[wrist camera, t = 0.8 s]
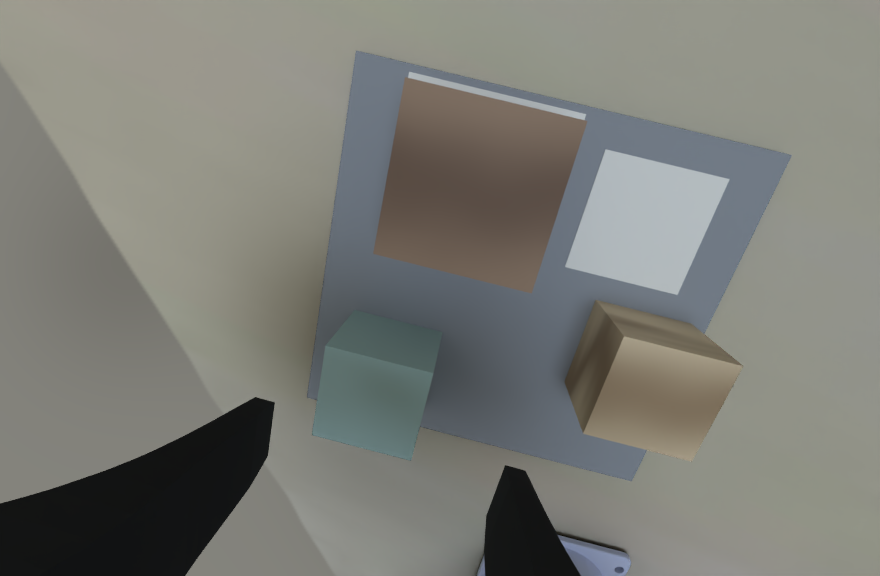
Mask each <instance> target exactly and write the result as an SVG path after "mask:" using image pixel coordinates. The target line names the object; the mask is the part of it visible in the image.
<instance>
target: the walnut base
mask: <svg viewBox="0 0 880 576" xmlns="http://www.w3.org/2000/svg"><path fill="white" fill-rule="evenodd" d="M586 124H587V121H586V120H581V119H577V118H573V117H569V116H565V115H561V114H557V113H552V112H548V111H544V110H540V109H536V108H532V107H527V106H523V105H519V104H515V103H511V102H507V101H502V100H498V99H494V98H490V97H486V96H482V95H478V94H473V93H469V92H465V91H461V90H457V89H453V88H448V87H444V86H440V85H436V84H432V83H428V82H424V81H419V80H415V79H411V78H407V77H405V80H404V85H403V91H402V96H401V102H400V107H399V113H398V118H397V124H396V129H395V135H394V140H393V146H392V152H391V157H390V163H389V168H388V174H387V179H386V185H385V190H384V196H383V201H382V207H381V213H380V218H379V224H378V229H377V235H376V240H375V246H374V251H373V254H376V255H380V256H384V257H388V258H392V259H396V260H400V261H404V262H408V263H412V264H416V265H420V266H424V267H428V268H432V269H436V270H440V271H444V272H448V273H452V274H456V275H460V276H464V277H468V278H472V279H476V280H480V281H484V282H488V283H492V284H496V285H500V286H504V287H508V288H512V289H516V290H520V291H524V292H528V293H532V291H533V288H534V285H535V282H536V279H537V275H538V272H539V269H540V266H541V263H542V260H543V257H544V254H545V251H546V248H547V245H548V242H549V238H550V235H551V232H552V229H553V226H554V223H555V220H556V217H557V214H558V211H559V208H560V205H561V201H562V198H563V195H564V192H565V189H566V186H567V183H568V180H569V177H570V174H571V171H572V168H573V165H574V161H575V158H576V155H577V152H578V149H579V146H580V143H581V140H582V137H583V134H584V131H585V128H586Z"/></svg>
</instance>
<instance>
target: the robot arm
mask: <svg viewBox="0 0 880 576" xmlns="http://www.w3.org/2000/svg"><path fill="white" fill-rule="evenodd" d="M274 404H275V402H271V401H267V400H264V399H260V398H256V397H255V398H253V399H251V400H249V401H248V402H246V403H244V404H242V405H240V406H238V407H237V408H235V409H233V410H231V411H229V412H228V413H226V414H224V415H222V416H220V417H219V418H217V419H215V420H213V421H211V422H210V423H208V424H206V425H204V426H202V427H200V428H198V429H196V430H194V431H193V432H191V433H189V434H187V435H185V436H183V437H181V438H179V439H177V440H175V441H173V442H171V443H168V444H166V445H165V446H162V447H160V448H158V449H156V450H154V451H152V452H150V453H147V454H145V455H143V456H141V457H138V458H136V459H133V460H131V461H129V462H126V463H123V464H121V465H119V466H116V467H113V468H111V469H108V470H106V471H103V472H100V473H98V474H94V475H92V476H89V477H86V478H83V479H80V480H77V481H74V482H71V483H68V484H65V485H63V486H59V487H56V488H53V489H50V490H47V491H43V492H40V493H37V494H33V495H30V496H26V497H23V498H19V499H15V500H12V501H8V502H4V503H1V504H0V576H185V575H186V574H187V572H188V571H189V569H190V568H191V566H192V565H193V564H194V562H195V561H196V559H197V558H198V556H199V555H200V554H201V552H202V551H203V550H204V548H205V547H206V546H207V544H208V543H209V542H210V540H211V539H212V538H213V536H214V535H215V533H216V532H217V531H218V529H219V528H220V527H221V525H222V524H223V523H224V521H225V520H226V519H227V517H228V516H229V514H230V513H231V512H232V511H233V509H234V508H235V507H236V505H237V504H238V503H239V501H240V500H241V498H242V497H243V496H244V494H245V493H246V492H247V490H248V489H249V487H250V485H251V484H252V482H253V481H254V479H255V477H256V476H257V474H258V472H259V470H260V469H261V467H262V465H263V463H264V461H265V460H266V458H267V456H268V450H269V442H270V434H271V427H272V419H273V411H274ZM630 566H631V561H630V558H629V555H628V554H627V553H624V552H621V551H617V550H613V549H610V548H606V547H602V546H598V545H594V544H590V543H587V542H583V541H579V540H575V539H571V538H567V537H564V536H560V535H557V533H556V531H555V529H554V528H553V526H552V524H551V522H550V520H549V518H548V516H547V514H546V512H545V510H544V508H543V506H542V504H541V502H540V500H539V498H538V496H537V494H536V492H535V490H534V488H533V485H532V483H531V481H530V479H529V477H528V475H527V473H526V471H524V470H521V469H517V468H513V467H510V466H506V465H505V467H504V470H503V473H502V476H501V478H500V481H499V484H498V486H497V489H496V492H495V494H494V497H493V500H492V502H491V505H490V508H489V510H488V513H487V516H486V529H485V546H484V556H483V559H482V562H481V564H480V567H479V570H478V573H477V575H476V576H625V575H626V573H627V571H628V569H629V568H630Z"/></svg>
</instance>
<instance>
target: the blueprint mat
mask: <svg viewBox="0 0 880 576" xmlns="http://www.w3.org/2000/svg"><path fill="white" fill-rule="evenodd" d="M405 77H407V78H411V79H415V80H419V81H424V82H428V83H432V84H436V85H440V86H444V87H448V88H453V89H457V90H461V91H465V92H469V93H473V94H478V95H482V96H486V97H490V98H494V99H498V100H502V101H507V102H511V103H515V104H519V105H523V106H527V107H532V108H536V109H540V110H544V111H548V112H552V113H557V114H561V115H565V116H569V117H573V118H577V119H581V120H586V121H587V124H586V128H585V131H584V134H583V137H582V140H581V143H580V146H579V149H578V152H577V155H576V158H575V161H574V165H573V168H572V171H571V174H570V177H569V180H568V183H567V186H566V189H565V192H564V195H563V198H562V201H561V205H560V208H559V211H558V214H557V217H556V220H555V223H554V226H553V229H552V232H551V235H550V238H549V242H548V245H547V248H546V251H545V254H544V257H543V260H542V263H541V266H540V269H539V272H538V275H537V279H536V282H535V285H534V288H533V291H532V293H528V292H524V291H520V290H516V289H512V288H508V287H504V286H500V285H496V284H492V283H488V282H484V281H480V280H476V279H472V278H468V277H464V276H460V275H456V274H452V273H448V272H444V271H440V270H436V269H432V268H428V267H424V266H420V265H416V264H412V263H408V262H404V261H400V260H396V259H392V258H388V257H384V256H380V255H376V254H373V251H374V246H375V240H376V235H377V229H378V224H379V218H380V213H381V207H382V201H383V196H384V190H385V185H386V179H387V174H388V168H389V163H390V157H391V152H392V146H393V140H394V135H395V129H396V124H397V118H398V113H399V107H400V102H401V96H402V91H403V85H404V80H405ZM791 156H792V155H789V154H785V153H781V152H776V151H772V150H768V149H764V148H760V147H756V146H751V145H747V144H743V143H739V142H735V141H731V140H726V139H722V138H718V137H714V136H710V135H706V134H701V133H697V132H693V131H689V130H685V129H681V128H676V127H672V126H668V125H664V124H660V123H656V122H651V121H647V120H643V119H639V118H635V117H631V116H626V115H622V114H618V113H614V112H610V111H606V110H601V109H597V108H593V107H589V106H585V105H581V104H576V103H572V102H568V101H564V100H560V99H556V98H551V97H547V96H543V95H539V94H535V93H531V92H526V91H522V90H518V89H514V88H510V87H506V86H501V85H497V84H493V83H489V82H485V81H481V80H476V79H472V78H468V77H464V76H460V75H456V74H451V73H447V72H443V71H439V70H435V69H431V68H426V67H422V66H418V65H414V64H410V63H406V62H401V61H397V60H393V59H389V58H385V57H381V56H376V55H372V54H368V53H364V52H360V51H356V55H355V63H354V70H353V77H352V84H351V91H350V98H349V105H348V112H347V119H346V126H345V133H344V140H343V147H342V154H341V161H340V168H339V175H338V182H337V189H336V196H335V203H334V210H333V218H332V225H331V232H330V239H329V246H328V253H327V260H326V267H325V274H324V281H323V288H322V295H321V302H320V309H319V316H318V323H317V330H316V337H315V344H314V351H313V358H312V365H311V373H310V380H309V387H308V394H307V398H311V399H315V400H317V398H318V391H319V385H320V378H321V372H322V365H323V358H324V352H325V346H326V344H327V343H328V342H329V341H330V339H331V338H332V337H333V336H334V335H335V333H336V332H337V331H338V330H339V328H340V327H341V326H342V325H343V324H344V322H345V321H346V320H347V319H348V317H349V316H350V315H351V314H352V312H353V311H354V310H357V311H361V312H365V313H369V314H373V315H377V316H381V317H385V318H389V319H393V320H397V321H401V322H405V323H408V324H412V325H416V326H420V327H424V328H428V329H432V330H436V331H440V332H442V337H441V341H440V346H439V350H438V355H437V360H436V364H435V369H434V373H433V377H432V381H431V385H430V389H429V393H428V396H427V400H426V404H425V408H424V412H423V416H422V420H421V424H420V427H423V428H427V429H431V430H435V431H439V432H443V433H447V434H450V435H454V436H458V437H462V438H466V439H470V440H474V441H478V442H481V443H485V444H489V445H493V446H497V447H501V448H505V449H509V450H512V451H516V452H520V453H524V454H528V455H532V456H536V457H540V458H543V459H547V460H551V461H555V462H559V463H563V464H567V465H571V466H574V467H578V468H582V469H586V470H590V471H594V472H598V473H602V474H605V475H609V476H613V477H617V478H621V479H625V480H629V481H632V479H633V477H634V475H635V473H636V471H637V469H638V467H639V465H640V463H641V461H642V459H643V457H644V455H645V453H646V451H647V450H645V449H641V448H637V447H633V446H629V445H625V444H621V443H617V442H613V441H609V440H606V439H602V438H598V437H594V436H590V435H586V434H583V432H582V429H581V427H580V424H579V421H578V418H577V415H576V413H575V410H574V407H573V404H572V402H571V399H570V396H569V393H568V390H567V388H566V385H565V379H566V376H567V374H568V371H569V369H570V366H571V363H572V361H573V358H574V355H575V353H576V350H577V348H578V345H579V342H580V340H581V337H582V334H583V332H584V329H585V327H586V324H587V321H588V319H589V316H590V314H591V311H592V308H593V306H594V303H595V300H599V301H603V302H607V303H611V304H615V305H619V306H623V307H627V308H631V309H635V310H639V311H643V312H647V313H651V314H655V315H659V316H663V317H667V318H671V319H675V320H679V321H683V322H687V323H691V324H692V325H694V326H695V327H696V328H697V329H698V330H700V331H701V332H702V333H703V334H704V333H705V331H706V329H707V327H708V325H709V323H710V321H711V319H712V317H713V315H714V313H715V311H716V309H717V307H718V305H719V303H720V300H721V298H722V296H723V294H724V292H725V290H726V288H727V286H728V284H729V282H730V280H731V278H732V276H733V274H734V272H735V270H736V268H737V266H738V264H739V262H740V260H741V258H742V256H743V254H744V252H745V250H746V248H747V246H748V244H749V242H750V239H751V237H752V235H753V233H754V231H755V229H756V227H757V225H758V223H759V221H760V219H761V217H762V215H763V213H764V211H765V209H766V207H767V205H768V203H769V201H770V199H771V197H772V195H773V193H774V191H775V189H776V187H777V185H778V183H779V180H780V178H781V176H782V174H783V172H784V170H785V168H786V166H787V164H788V162H789V160H790V158H791Z"/></svg>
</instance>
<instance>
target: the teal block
mask: <svg viewBox="0 0 880 576" xmlns="http://www.w3.org/2000/svg"><path fill="white" fill-rule="evenodd" d="M441 337H442V332H440V331H436V330H432V329H428V328H424V327H420V326H416V325H412V324H408V323H405V322H401V321H397V320H393V319H389V318H385V317H381V316H377V315H373V314H369V313H365V312H361V311H357V310H354V311H353V312H352V314H351V315H350V316H349V317H348V319H347V320H346V321H345V322H344V324H343V325H342V326H341V327H340V328H339V330H338V331H337V332H336V333H335V335H334V336H333V337H332V338H331V339H330V341H329V342H328V343H327V344H326V346H325V352H324V358H323V365H322V372H321V378H320V385H319V391H318V398H317V404H316V411H315V418H314V424H313V431H312V435H314V436H318V437H321V438H325V439H329V440H333V441H337V442H341V443H344V444H348V445H352V446H356V447H360V448H364V449H368V450H371V451H375V452H379V453H383V454H387V455H391V456H394V457H398V458H402V459H406V460H410V461H411V459H412V455H413V451H414V447H415V443H416V439H417V435H418V431H419V428H420V424H421V420H422V416H423V412H424V408H425V404H426V400H427V396H428V393H429V389H430V385H431V381H432V377H433V373H434V369H435V364H436V360H437V355H438V350H439V346H440V341H441Z"/></svg>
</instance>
